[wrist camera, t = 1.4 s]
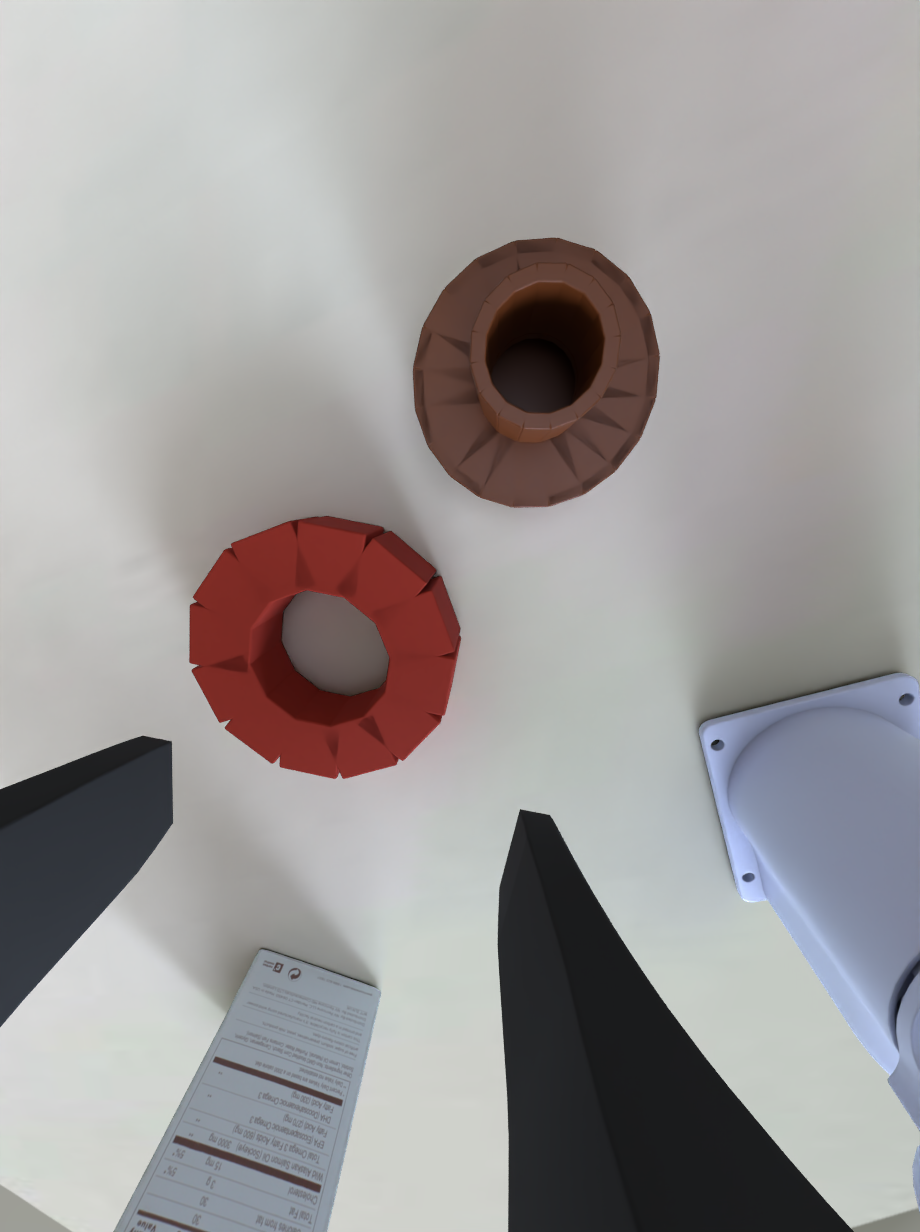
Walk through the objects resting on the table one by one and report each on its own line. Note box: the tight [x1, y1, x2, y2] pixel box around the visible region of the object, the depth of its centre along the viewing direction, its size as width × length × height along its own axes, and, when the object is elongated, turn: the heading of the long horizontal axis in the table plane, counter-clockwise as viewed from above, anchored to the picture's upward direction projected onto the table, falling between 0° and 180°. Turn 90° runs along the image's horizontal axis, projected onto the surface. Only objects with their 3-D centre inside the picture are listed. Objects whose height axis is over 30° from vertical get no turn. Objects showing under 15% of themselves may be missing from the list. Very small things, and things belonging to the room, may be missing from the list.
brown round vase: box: [413, 238, 660, 508], centre depth 13 cm, size 7×7×7 cm
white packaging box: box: [114, 949, 381, 1232], centre depth 20 cm, size 7×7×13 cm
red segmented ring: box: [189, 516, 461, 779], centre depth 18 cm, size 10×10×3 cm
